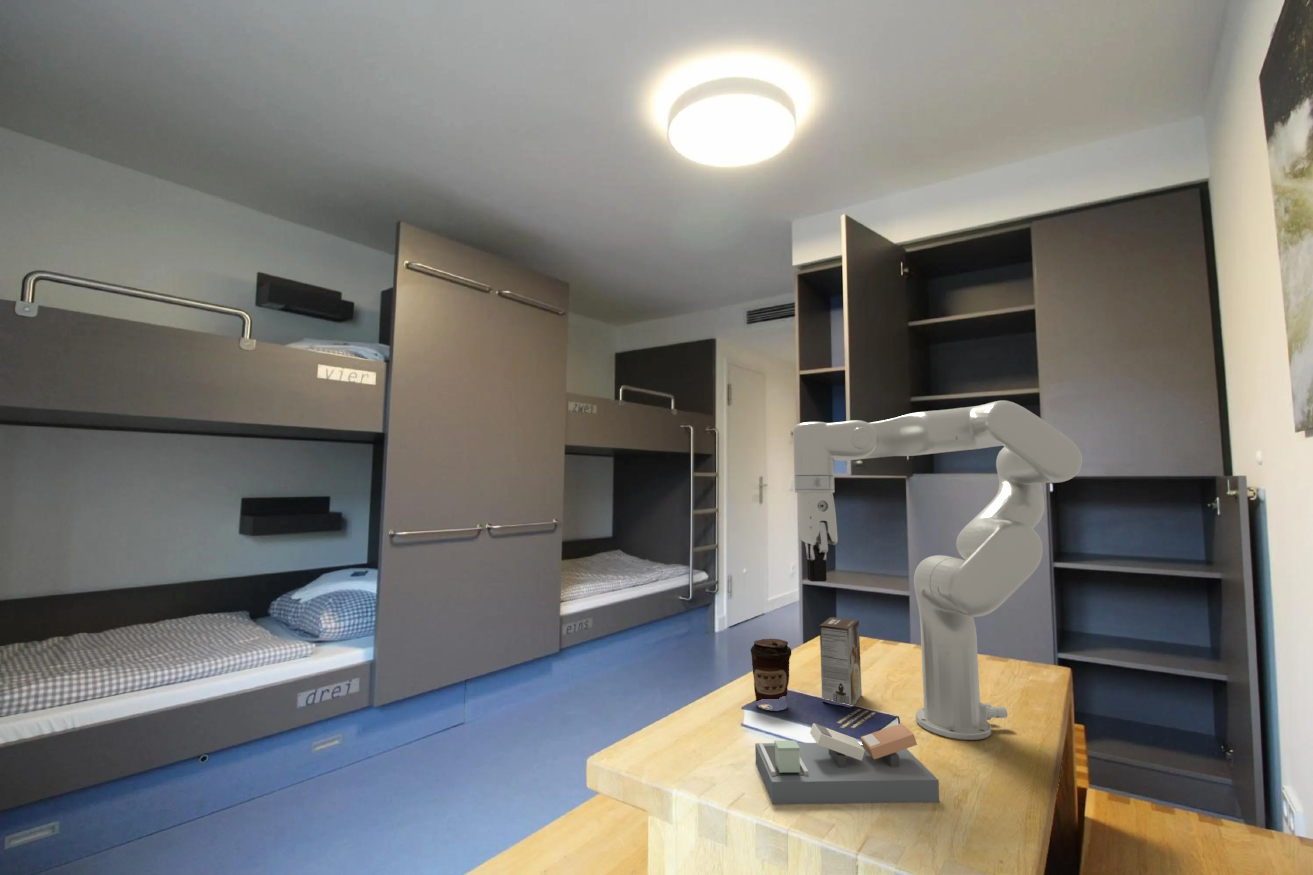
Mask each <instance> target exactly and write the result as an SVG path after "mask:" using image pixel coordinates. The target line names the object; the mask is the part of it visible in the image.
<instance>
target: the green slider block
mask: <svg viewBox="0 0 1313 875" xmlns="http://www.w3.org/2000/svg"><path fill="white" fill-rule="evenodd" d="M773 743H775V760H776V766H777V768H778V771H779V773H783V772H800V757H799V751H800V747H799V745H798V744H797V743H798V742H797V741H796V740H774V742H773Z"/></svg>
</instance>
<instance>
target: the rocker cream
mask: <svg viewBox="0 0 1313 875" xmlns="http://www.w3.org/2000/svg"><path fill="white" fill-rule="evenodd" d="M809 733H810V735H811V737H812V738H813V739H814V741H815V743H817V744H818V745H820V746H823V747H826V748H828V749H831V750H834V751H837V752H839V753H842V754H845V755H847V756H850V757H853V758H856V759H858V760H861V761H862V758H863V755H864V752H865V750H864V749H863V747H862V746H861V745H860V744H859V743H858V742H859V741H858V740H857V739H856V738H855V737H852V736H850V735H847V734H844V733H841V732H838V731H836V730H833V729H830V728H828V727H825V726H823V725H821V724H818V723H812V725H811V729H810V732H809Z"/></svg>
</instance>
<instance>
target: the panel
mask: <svg viewBox="0 0 1313 875" xmlns="http://www.w3.org/2000/svg"><path fill="white" fill-rule="evenodd" d="M797 744H798V745H799V747H800V751H799V757H800V772H783V773H779V771H778V768H777V766H776V760H775V743H774V742H771V743H770V742H768V743H767V742H766V743H764V742H757V743H755V744H754V745H755V748H754V749H755V764H756V767H757V769H758V773H759V774H760V776H761V779H762V782H763V784H764V786H765V789H766V791H767V794H768V797H769V799H770V802H771V805H806V804H807V805H811V804H816V805H817V804H818V805H822V804H887V803H888V804H889V803H894V804H898V803H903V804H904V803H940V788H939V784H940V783H939V779H938V778H937V777H936V776H935V775H934V774H933V773H932V772H931V771H930V770H929V769H928V768H927V767H926V766H925V765H924V764H923V763H922V762H921V761H920V760H919V758H917V757H916V756H915V755H914V754H913V753H912V752H911V751H910V750H909V748H906V749H904V750H901V751H898V752H895V753H892V754H889V755H886V756H883V757H880V758H877V759H873V758H872V757H871V755H870V754H869V753H868V752H867V751H866V750H865V748H864V747H863V745H861V746H862V747H863V749H864V750H865V752H864V755H863V758H862V761H861V760H858V759H856V758H853V757H850V756H847V755H845V754H842V753H839V752H837V751H834V750H831V749H828V748H826V747H823V746H820V745H818V744H817V743H816V742H797Z"/></svg>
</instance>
